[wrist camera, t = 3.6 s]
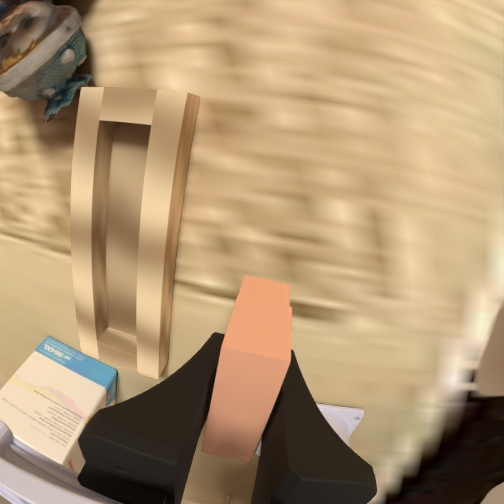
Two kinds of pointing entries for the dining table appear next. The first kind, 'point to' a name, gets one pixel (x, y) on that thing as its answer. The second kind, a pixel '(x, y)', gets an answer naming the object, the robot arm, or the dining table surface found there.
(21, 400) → the ink box
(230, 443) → the tall salmon pink block
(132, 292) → the rail
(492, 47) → the dining table surface
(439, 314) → the dining table surface
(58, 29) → the figurine
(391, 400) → the dining table surface
